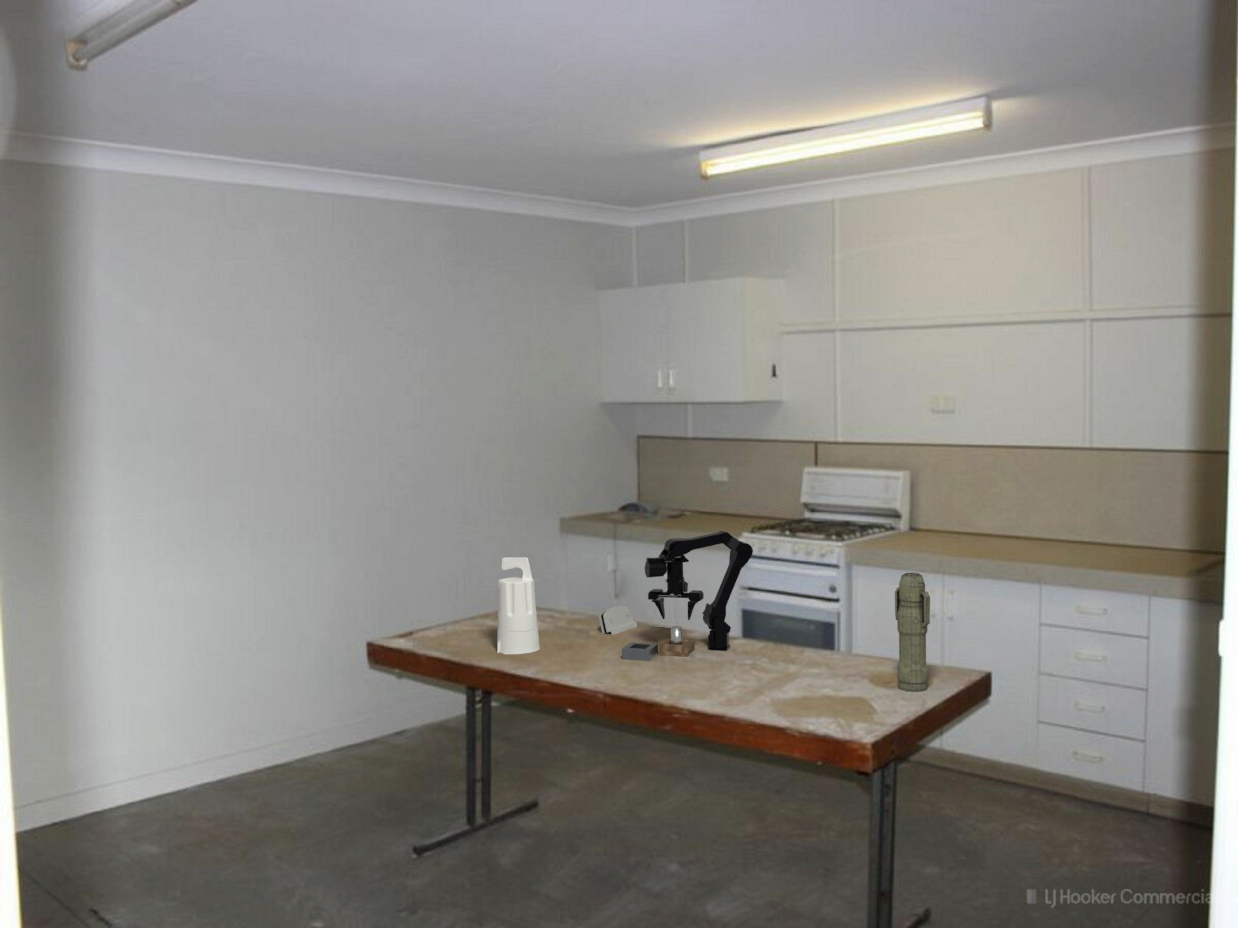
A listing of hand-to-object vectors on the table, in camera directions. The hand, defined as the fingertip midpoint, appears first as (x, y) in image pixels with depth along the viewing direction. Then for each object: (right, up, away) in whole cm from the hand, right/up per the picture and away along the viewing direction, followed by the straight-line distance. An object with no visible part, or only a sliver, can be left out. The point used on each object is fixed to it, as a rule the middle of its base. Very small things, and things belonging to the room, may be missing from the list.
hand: (676, 619), depth 391 cm
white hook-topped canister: (-56, -13, +11) cm, 59 cm away
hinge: (-21, -10, +39) cm, 45 cm away
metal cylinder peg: (0, -12, +1) cm, 12 cm away
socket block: (0, -12, +1) cm, 12 cm away
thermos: (+69, -14, -50) cm, 87 cm away
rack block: (-13, -12, -3) cm, 18 cm away
